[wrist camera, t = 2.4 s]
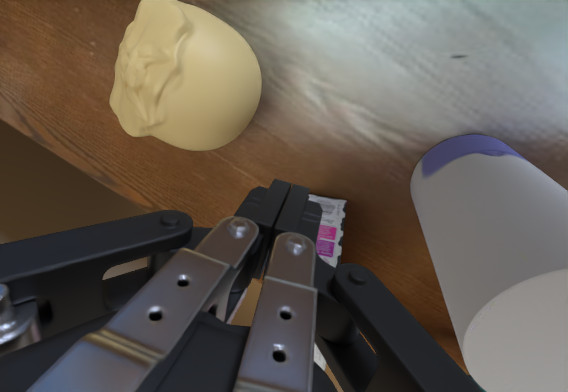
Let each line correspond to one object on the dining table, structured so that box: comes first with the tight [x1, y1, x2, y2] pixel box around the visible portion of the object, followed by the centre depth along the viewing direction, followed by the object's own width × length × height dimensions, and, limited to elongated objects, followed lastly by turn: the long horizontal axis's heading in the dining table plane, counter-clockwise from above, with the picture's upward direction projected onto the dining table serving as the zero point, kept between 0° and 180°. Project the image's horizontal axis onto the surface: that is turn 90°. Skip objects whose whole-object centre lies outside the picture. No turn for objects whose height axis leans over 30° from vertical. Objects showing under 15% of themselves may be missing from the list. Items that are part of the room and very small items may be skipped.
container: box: [410, 135, 568, 392], centre depth 24 cm, size 10×10×20 cm
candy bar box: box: [307, 194, 347, 371], centre depth 32 cm, size 11×5×16 cm, turn 176°
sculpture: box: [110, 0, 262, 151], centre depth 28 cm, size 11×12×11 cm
